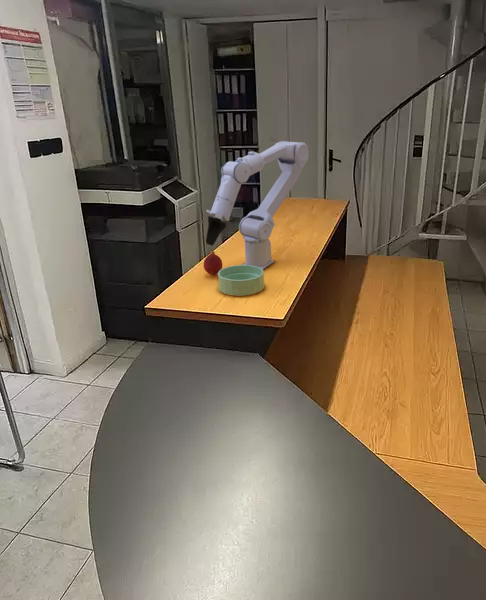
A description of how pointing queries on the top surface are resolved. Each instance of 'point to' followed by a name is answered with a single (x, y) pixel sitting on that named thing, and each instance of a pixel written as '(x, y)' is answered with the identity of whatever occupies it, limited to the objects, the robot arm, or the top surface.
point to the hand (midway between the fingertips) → (209, 244)
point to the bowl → (241, 280)
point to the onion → (212, 264)
